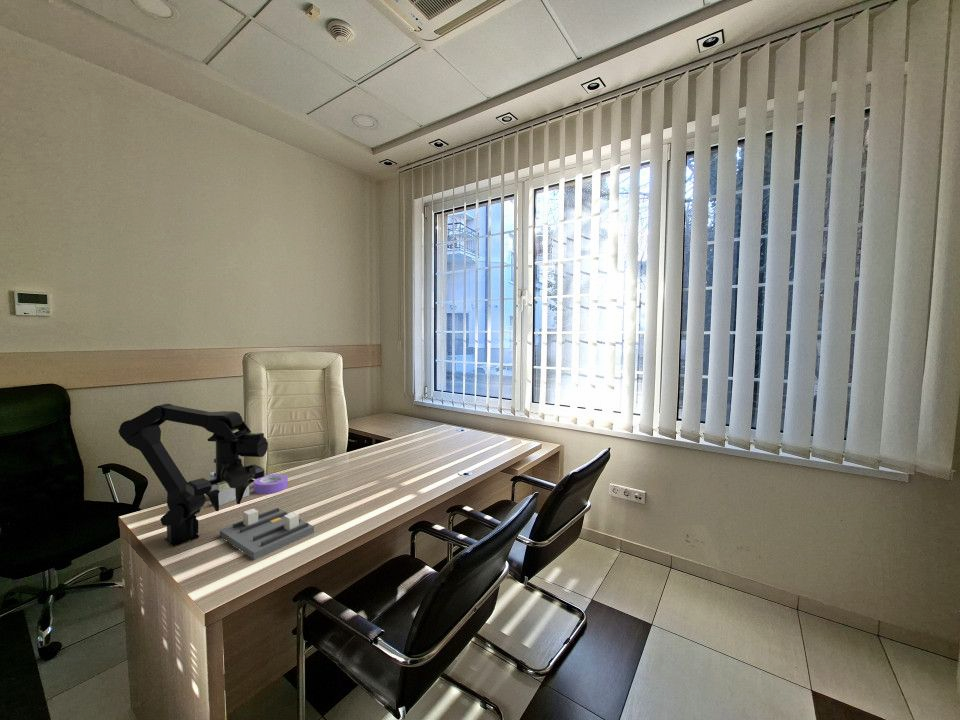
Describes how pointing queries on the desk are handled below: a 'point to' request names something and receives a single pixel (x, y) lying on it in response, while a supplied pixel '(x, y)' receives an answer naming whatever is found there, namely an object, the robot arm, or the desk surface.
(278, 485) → the masking tape
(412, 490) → the desk surface
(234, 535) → the switch board
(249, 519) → the tab
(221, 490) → the light bulb box
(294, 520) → the tab
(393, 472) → the desk surface
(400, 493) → the desk surface
